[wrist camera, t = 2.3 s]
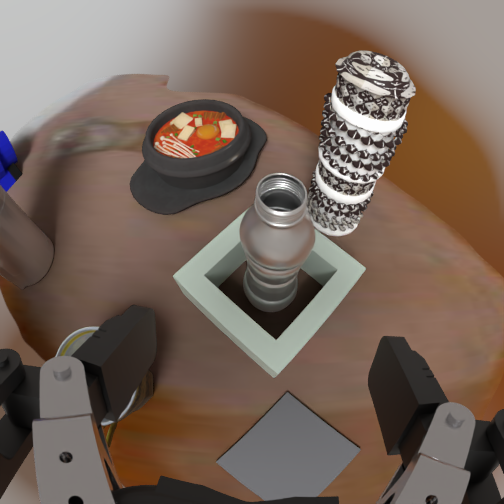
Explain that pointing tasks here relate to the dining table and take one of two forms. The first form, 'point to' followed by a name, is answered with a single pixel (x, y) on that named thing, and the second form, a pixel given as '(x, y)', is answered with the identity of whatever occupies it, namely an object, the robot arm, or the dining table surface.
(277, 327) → the dining table surface
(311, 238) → the plastic bottle
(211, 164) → the casserole
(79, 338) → the ceramic cup
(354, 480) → the dining table surface
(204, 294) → the holder block
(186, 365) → the dining table surface
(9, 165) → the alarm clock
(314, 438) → the rubber mat
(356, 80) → the black and white cylinder
